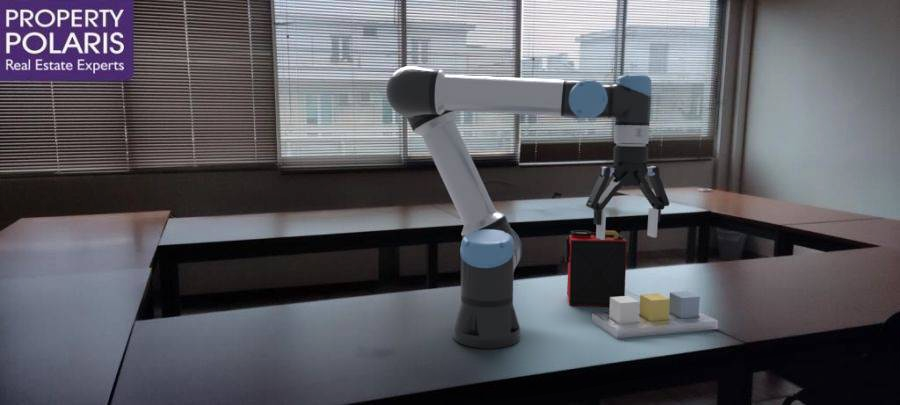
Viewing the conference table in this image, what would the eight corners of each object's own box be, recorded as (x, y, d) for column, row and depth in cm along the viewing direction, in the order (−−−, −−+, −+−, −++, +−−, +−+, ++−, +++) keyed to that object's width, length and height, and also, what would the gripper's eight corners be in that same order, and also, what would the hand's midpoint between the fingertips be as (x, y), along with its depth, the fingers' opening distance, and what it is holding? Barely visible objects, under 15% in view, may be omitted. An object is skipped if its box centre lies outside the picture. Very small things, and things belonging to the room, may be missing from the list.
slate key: (680, 318, 141) (681, 298, 141) (668, 312, 146) (669, 292, 145) (698, 317, 142) (699, 296, 142) (686, 310, 147) (687, 291, 146)
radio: (619, 296, 166) (622, 225, 163) (626, 307, 156) (629, 232, 153) (561, 295, 167) (563, 224, 165) (565, 306, 157) (567, 231, 155)
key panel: (617, 338, 134) (617, 329, 133) (591, 321, 145) (592, 313, 145) (717, 329, 140) (718, 320, 139) (685, 313, 151) (686, 305, 151)
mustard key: (650, 321, 139) (651, 300, 139) (639, 314, 144) (640, 294, 143) (668, 319, 140) (669, 299, 140) (657, 313, 145) (658, 293, 144)
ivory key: (619, 324, 137) (620, 303, 137) (609, 317, 142) (610, 297, 141) (638, 322, 139) (639, 301, 138) (627, 316, 143) (628, 295, 142)
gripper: (589, 145, 129) (585, 243, 131) (689, 145, 135) (683, 238, 138) (573, 144, 136) (570, 236, 139) (668, 144, 142) (663, 232, 145)
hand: (626, 237), depth 138 cm, fingers open, 13 cm apart
